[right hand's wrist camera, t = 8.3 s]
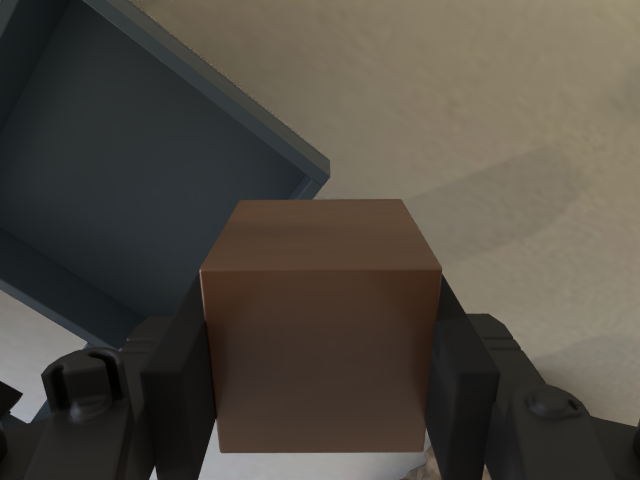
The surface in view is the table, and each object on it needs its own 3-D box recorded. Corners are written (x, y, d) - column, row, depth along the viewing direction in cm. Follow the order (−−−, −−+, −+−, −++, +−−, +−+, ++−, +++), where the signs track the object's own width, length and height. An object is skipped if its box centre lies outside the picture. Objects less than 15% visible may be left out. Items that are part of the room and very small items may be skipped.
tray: (81, -37, 22) (-107, -120, 12) (330, 160, 25) (332, 215, 15) (-109, 331, 29) (-316, 456, 20) (100, 447, 32) (8, 601, 23)
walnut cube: (393, 337, 16) (424, 453, 11) (249, 338, 16) (219, 454, 11) (401, 198, 14) (443, 267, 9) (238, 199, 14) (197, 268, 9)
